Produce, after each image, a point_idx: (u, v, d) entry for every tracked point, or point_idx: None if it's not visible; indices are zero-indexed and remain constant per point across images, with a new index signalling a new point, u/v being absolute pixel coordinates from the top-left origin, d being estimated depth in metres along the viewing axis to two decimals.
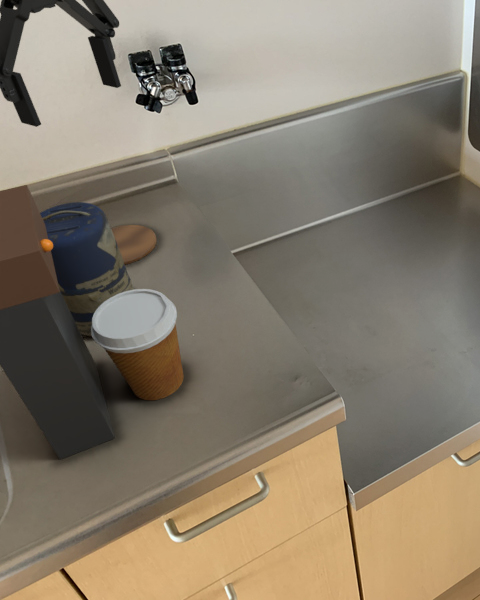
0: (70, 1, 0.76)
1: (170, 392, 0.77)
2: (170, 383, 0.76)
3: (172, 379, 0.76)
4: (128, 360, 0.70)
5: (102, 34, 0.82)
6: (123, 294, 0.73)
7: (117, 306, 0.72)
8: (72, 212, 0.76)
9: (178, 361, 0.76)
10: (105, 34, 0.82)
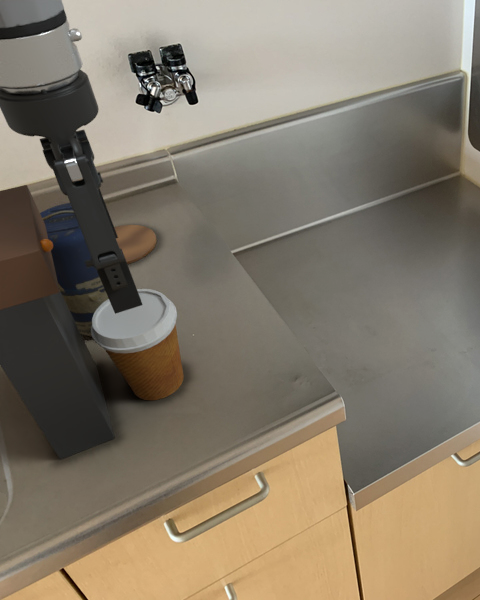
0: None
1: (170, 392, 0.77)
2: (170, 383, 0.76)
3: (172, 379, 0.76)
4: (128, 360, 0.70)
5: None
6: None
7: None
8: (73, 212, 0.76)
9: (178, 361, 0.76)
10: None
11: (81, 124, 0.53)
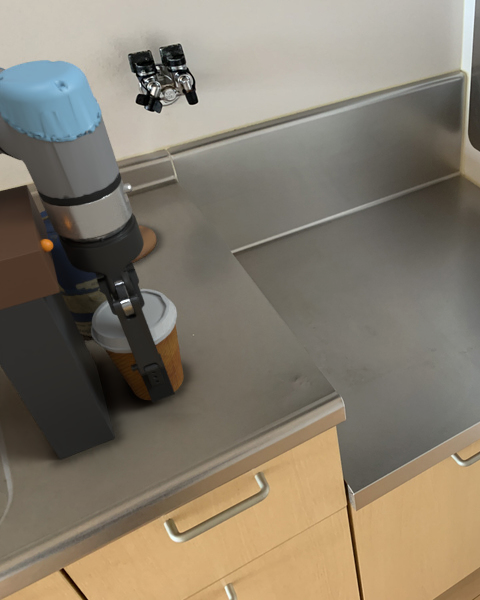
0: None
1: None
2: None
3: (172, 379, 0.76)
4: (128, 360, 0.70)
5: None
6: None
7: None
8: None
9: (178, 361, 0.76)
10: None
11: (130, 260, 0.63)
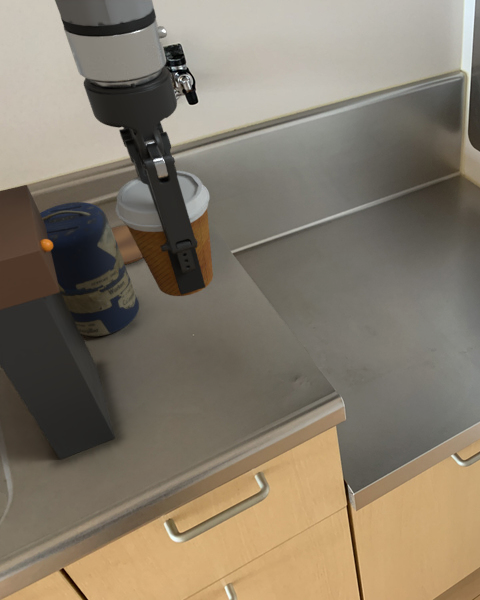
0: None
1: None
2: None
3: (202, 273, 0.69)
4: (156, 243, 0.63)
5: None
6: None
7: (144, 186, 0.65)
8: (73, 212, 0.76)
9: (209, 253, 0.69)
10: None
11: (164, 116, 0.56)
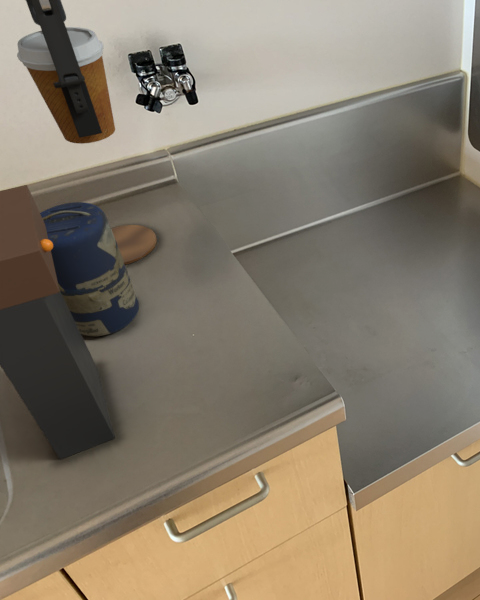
0: None
1: (99, 137, 0.78)
2: None
3: (101, 122, 0.77)
4: None
5: None
6: None
7: None
8: (73, 212, 0.76)
9: (107, 104, 0.78)
10: None
11: None
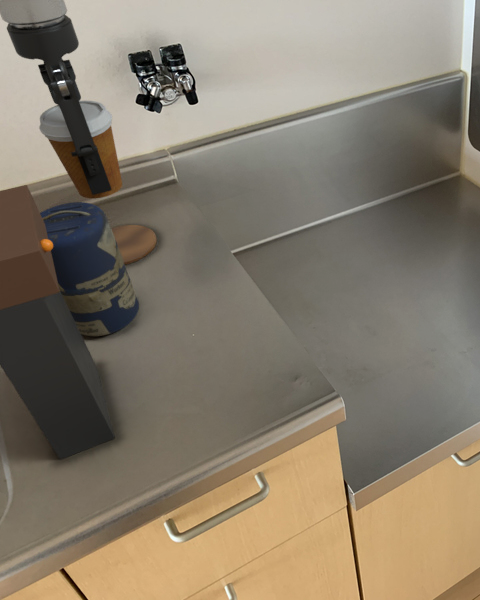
0: None
1: (109, 193, 0.91)
2: None
3: (110, 180, 0.90)
4: (70, 151, 0.85)
5: None
6: None
7: None
8: (73, 212, 0.76)
9: (115, 165, 0.90)
10: None
11: (66, 52, 0.78)
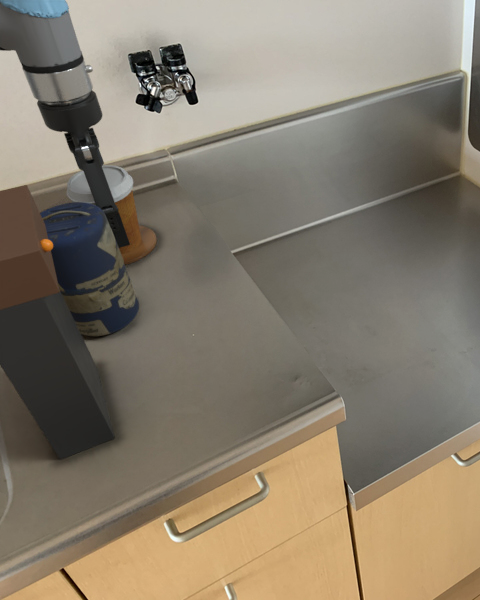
0: None
1: (130, 249, 0.98)
2: (129, 241, 0.97)
3: (131, 238, 0.97)
4: None
5: None
6: None
7: None
8: (73, 212, 0.76)
9: (135, 224, 0.97)
10: None
11: (91, 124, 0.84)
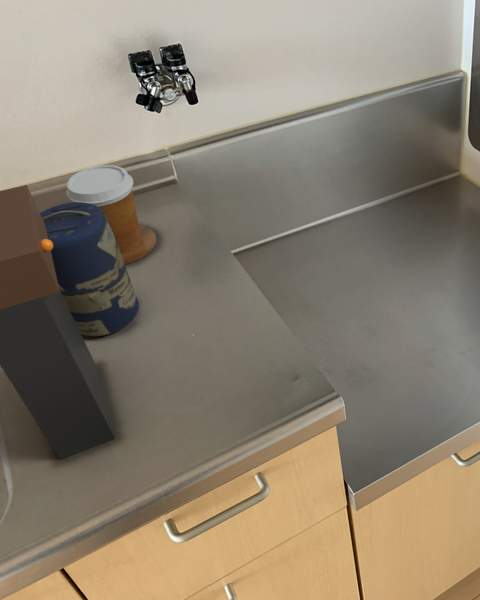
0: None
1: (130, 249, 0.98)
2: (129, 241, 0.97)
3: (131, 238, 0.97)
4: None
5: None
6: (92, 168, 0.95)
7: (87, 176, 0.94)
8: (73, 212, 0.76)
9: (135, 224, 0.97)
10: None
11: None
